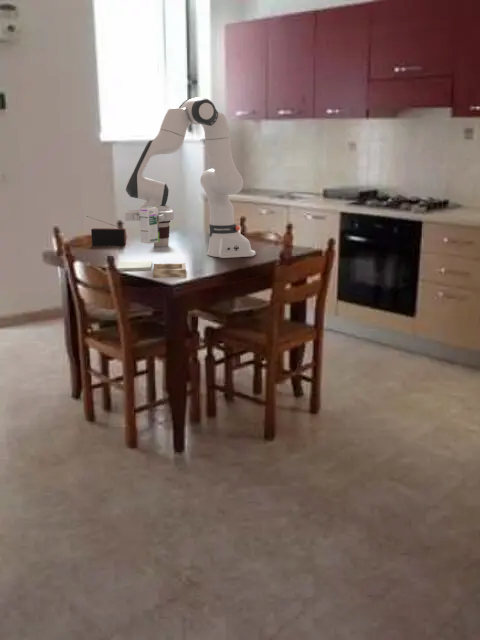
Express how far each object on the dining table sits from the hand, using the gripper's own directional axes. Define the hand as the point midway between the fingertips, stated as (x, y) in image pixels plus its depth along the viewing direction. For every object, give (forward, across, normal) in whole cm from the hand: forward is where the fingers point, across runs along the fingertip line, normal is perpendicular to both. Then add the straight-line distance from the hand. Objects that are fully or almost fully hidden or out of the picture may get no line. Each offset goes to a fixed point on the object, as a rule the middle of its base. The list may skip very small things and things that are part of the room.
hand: (148, 217), depth 299 cm
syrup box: (-1, 0, +10) cm, 10 cm away
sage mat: (-8, -7, +22) cm, 25 cm away
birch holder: (+7, +8, +22) cm, 25 cm away
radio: (-64, -23, +23) cm, 72 cm away
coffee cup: (-60, +4, +22) cm, 64 cm away
